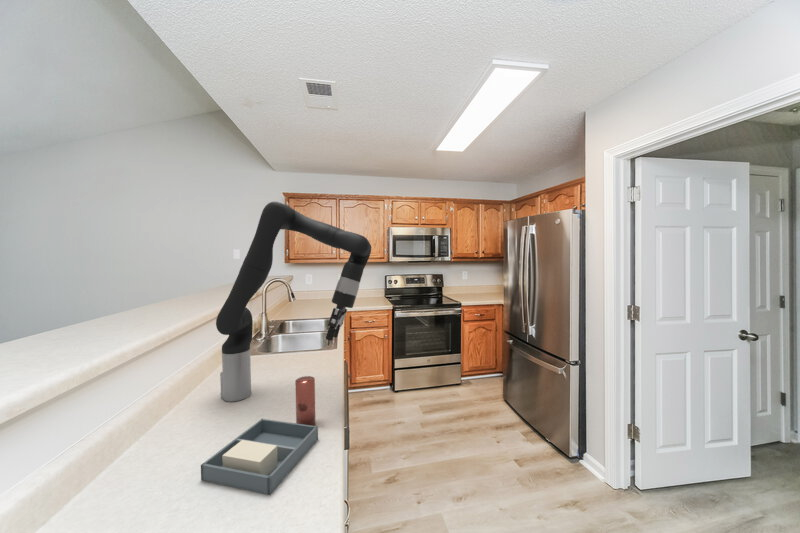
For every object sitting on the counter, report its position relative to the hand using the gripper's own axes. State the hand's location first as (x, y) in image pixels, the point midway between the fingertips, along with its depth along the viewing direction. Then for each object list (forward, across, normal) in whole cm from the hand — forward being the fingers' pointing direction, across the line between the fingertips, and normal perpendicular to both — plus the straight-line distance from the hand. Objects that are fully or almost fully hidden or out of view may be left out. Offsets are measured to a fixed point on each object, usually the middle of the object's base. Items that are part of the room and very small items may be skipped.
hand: (331, 338), depth 101 cm
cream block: (+30, +27, -4) cm, 41 cm away
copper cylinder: (+26, +6, +2) cm, 27 cm away
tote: (+30, +22, -3) cm, 37 cm away
